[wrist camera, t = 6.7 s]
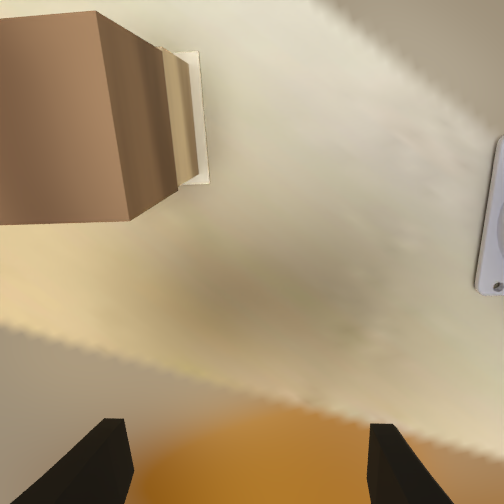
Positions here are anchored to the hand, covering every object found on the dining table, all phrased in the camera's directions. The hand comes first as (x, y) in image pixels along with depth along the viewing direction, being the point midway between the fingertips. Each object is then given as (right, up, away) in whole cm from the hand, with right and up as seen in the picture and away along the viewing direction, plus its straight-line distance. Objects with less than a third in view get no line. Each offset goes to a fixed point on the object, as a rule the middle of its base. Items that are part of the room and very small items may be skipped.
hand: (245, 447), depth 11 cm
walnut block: (-5, +10, +3) cm, 12 cm away
